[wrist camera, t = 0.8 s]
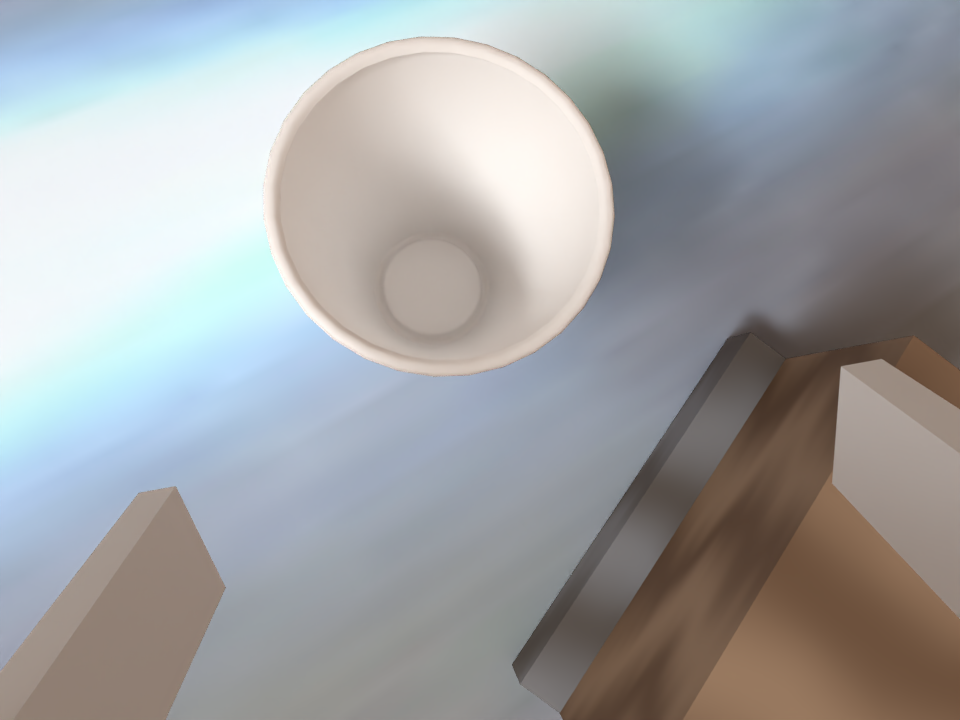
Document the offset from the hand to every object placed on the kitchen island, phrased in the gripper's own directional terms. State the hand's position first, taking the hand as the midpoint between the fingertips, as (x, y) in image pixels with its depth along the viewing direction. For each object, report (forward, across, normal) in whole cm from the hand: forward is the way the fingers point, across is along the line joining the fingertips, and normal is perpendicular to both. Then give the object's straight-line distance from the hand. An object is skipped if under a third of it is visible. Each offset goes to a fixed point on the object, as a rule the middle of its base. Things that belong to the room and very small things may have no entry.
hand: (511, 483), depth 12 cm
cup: (+17, -2, -1) cm, 17 cm away
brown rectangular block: (+11, +9, -15) cm, 20 cm away
